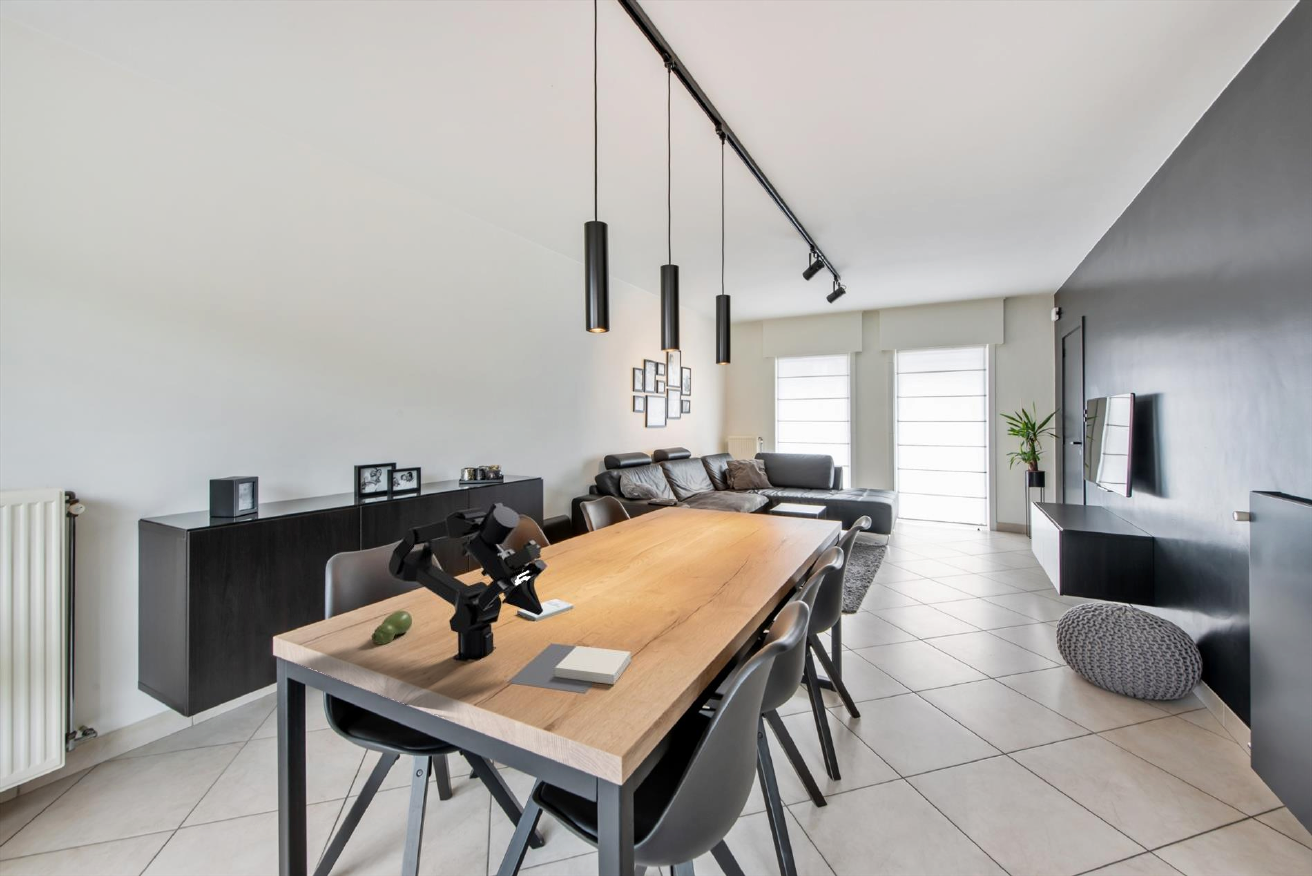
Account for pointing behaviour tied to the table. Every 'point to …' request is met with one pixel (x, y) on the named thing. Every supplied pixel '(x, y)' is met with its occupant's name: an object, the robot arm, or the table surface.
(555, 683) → the mat
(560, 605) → the external hard drive
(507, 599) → the robot arm
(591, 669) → the tile
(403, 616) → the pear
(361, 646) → the table surface
